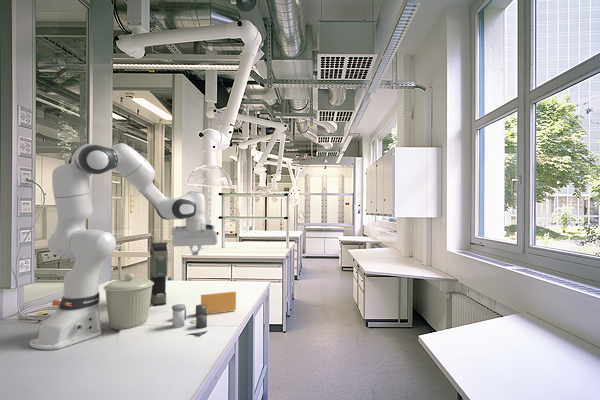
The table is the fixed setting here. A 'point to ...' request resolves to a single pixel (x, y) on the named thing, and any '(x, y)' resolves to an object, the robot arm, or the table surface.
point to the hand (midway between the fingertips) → (195, 255)
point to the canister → (128, 301)
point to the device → (158, 273)
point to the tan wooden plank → (216, 303)
